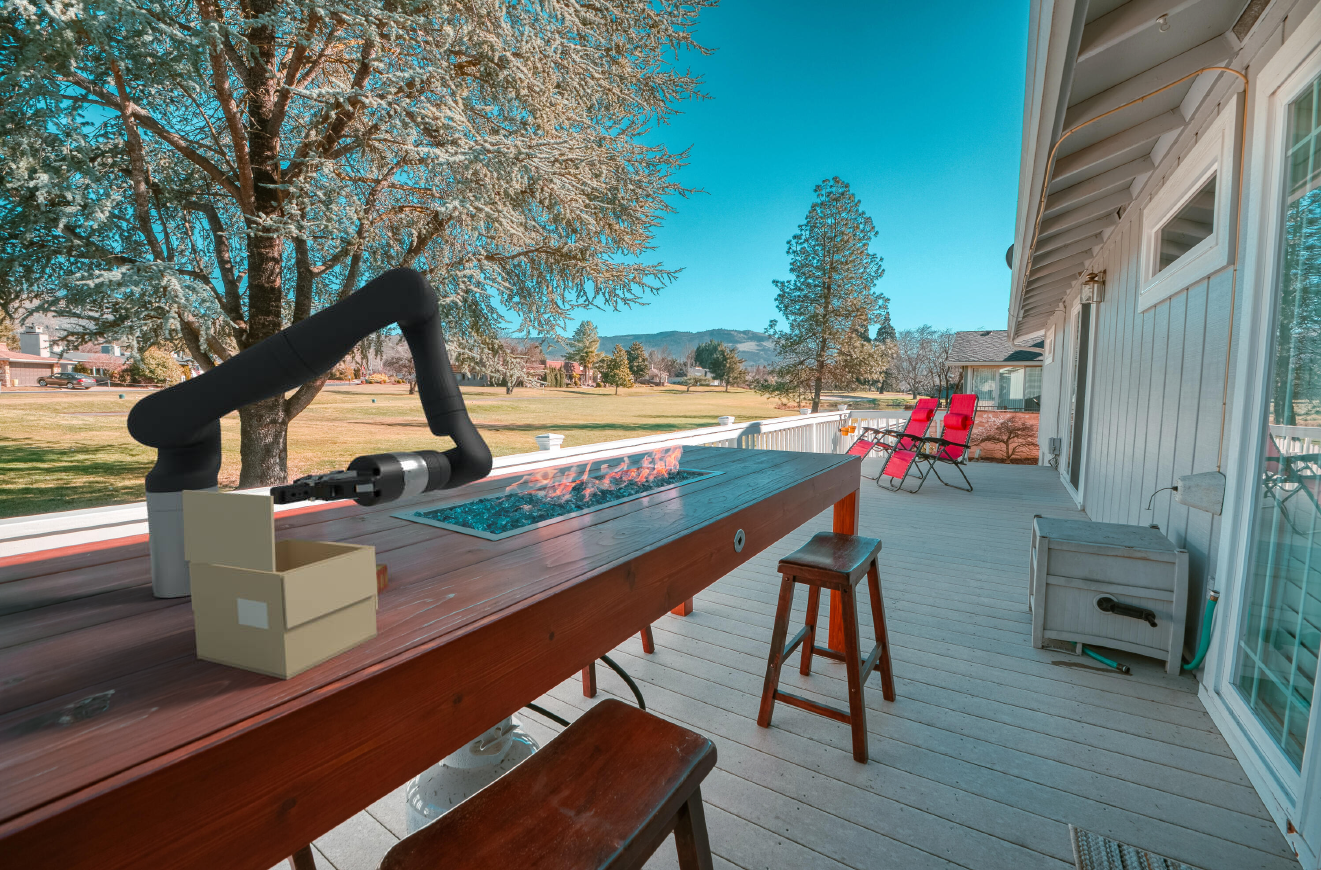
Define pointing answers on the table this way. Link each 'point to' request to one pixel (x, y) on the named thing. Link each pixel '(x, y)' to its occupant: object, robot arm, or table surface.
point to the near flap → (229, 529)
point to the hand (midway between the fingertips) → (274, 496)
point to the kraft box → (286, 607)
